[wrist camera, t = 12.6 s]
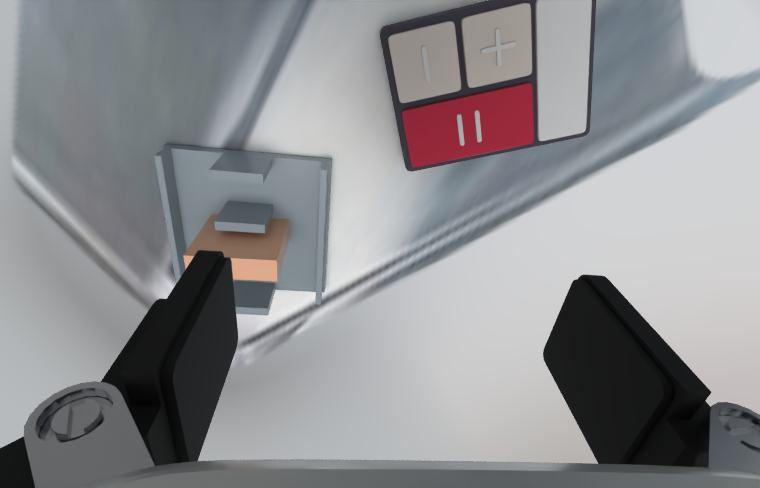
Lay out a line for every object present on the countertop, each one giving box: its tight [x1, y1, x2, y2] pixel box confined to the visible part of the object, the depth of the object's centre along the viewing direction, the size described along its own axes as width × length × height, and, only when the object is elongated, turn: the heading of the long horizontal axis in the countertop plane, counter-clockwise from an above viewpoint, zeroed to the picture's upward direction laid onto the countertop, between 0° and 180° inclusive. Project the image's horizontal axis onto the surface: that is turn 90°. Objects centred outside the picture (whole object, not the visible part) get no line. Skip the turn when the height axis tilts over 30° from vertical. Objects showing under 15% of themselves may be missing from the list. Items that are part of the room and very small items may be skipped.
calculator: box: [380, 0, 596, 171], centre depth 32 cm, size 11×4×15 cm
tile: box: [183, 215, 290, 282], centre depth 35 cm, size 2×7×7 cm, turn 84°
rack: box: [154, 144, 332, 315], centre depth 37 cm, size 14×14×5 cm
